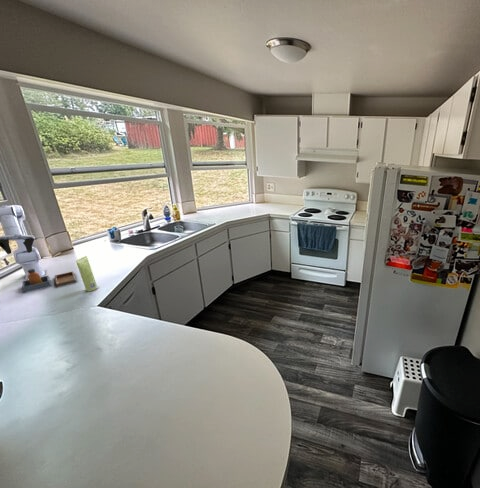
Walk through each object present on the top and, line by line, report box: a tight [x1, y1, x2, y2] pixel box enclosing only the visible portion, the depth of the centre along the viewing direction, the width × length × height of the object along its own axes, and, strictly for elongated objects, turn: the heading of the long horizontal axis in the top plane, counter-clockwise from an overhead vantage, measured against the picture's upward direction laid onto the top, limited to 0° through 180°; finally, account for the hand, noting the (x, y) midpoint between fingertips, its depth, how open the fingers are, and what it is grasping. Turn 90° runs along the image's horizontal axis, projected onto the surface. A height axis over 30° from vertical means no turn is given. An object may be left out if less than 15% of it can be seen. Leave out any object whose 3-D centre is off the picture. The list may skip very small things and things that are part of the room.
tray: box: [54, 271, 77, 287], centre depth 151 cm, size 15×8×2 cm, turn 47°
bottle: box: [27, 269, 42, 285], centre depth 142 cm, size 4×4×10 cm
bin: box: [21, 275, 52, 293], centre depth 144 cm, size 10×10×3 cm
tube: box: [75, 255, 98, 292], centre depth 140 cm, size 6×5×20 cm
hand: (20, 252), depth 131 cm, fingers open, 7 cm apart
